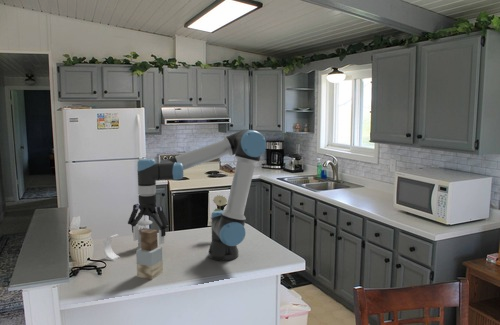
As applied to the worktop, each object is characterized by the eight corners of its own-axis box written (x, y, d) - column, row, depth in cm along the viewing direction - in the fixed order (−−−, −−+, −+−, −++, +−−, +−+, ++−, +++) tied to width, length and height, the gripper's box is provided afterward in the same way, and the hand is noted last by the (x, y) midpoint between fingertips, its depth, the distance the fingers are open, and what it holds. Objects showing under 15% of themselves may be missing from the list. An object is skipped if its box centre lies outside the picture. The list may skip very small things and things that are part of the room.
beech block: (162, 272, 183) (162, 260, 183) (152, 279, 176) (152, 266, 175) (148, 270, 186) (147, 257, 186) (137, 277, 179) (136, 263, 178)
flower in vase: (237, 236, 238) (237, 194, 235) (229, 242, 227) (229, 198, 224) (217, 234, 243) (217, 192, 240) (208, 239, 232) (208, 196, 229)
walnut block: (157, 247, 181) (157, 230, 180) (150, 251, 177) (150, 233, 176) (148, 246, 183) (147, 229, 182) (141, 249, 179) (140, 231, 178)
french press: (157, 245, 222) (156, 200, 219) (150, 252, 211) (148, 204, 208) (140, 244, 223) (138, 199, 220) (132, 251, 212) (130, 204, 209)
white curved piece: (113, 260, 199) (112, 236, 197) (103, 259, 201) (102, 235, 200) (119, 257, 203) (118, 234, 201) (110, 256, 205) (109, 233, 204)
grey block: (162, 260, 183) (162, 247, 182) (152, 266, 175) (151, 252, 175) (147, 257, 185) (146, 245, 185) (136, 263, 178) (136, 250, 177)
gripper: (176, 194, 176) (177, 242, 178) (129, 191, 185) (131, 236, 188) (166, 198, 169) (168, 247, 172) (118, 194, 178) (120, 240, 181)
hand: (148, 241), depth 180 cm, fingers open, 13 cm apart
